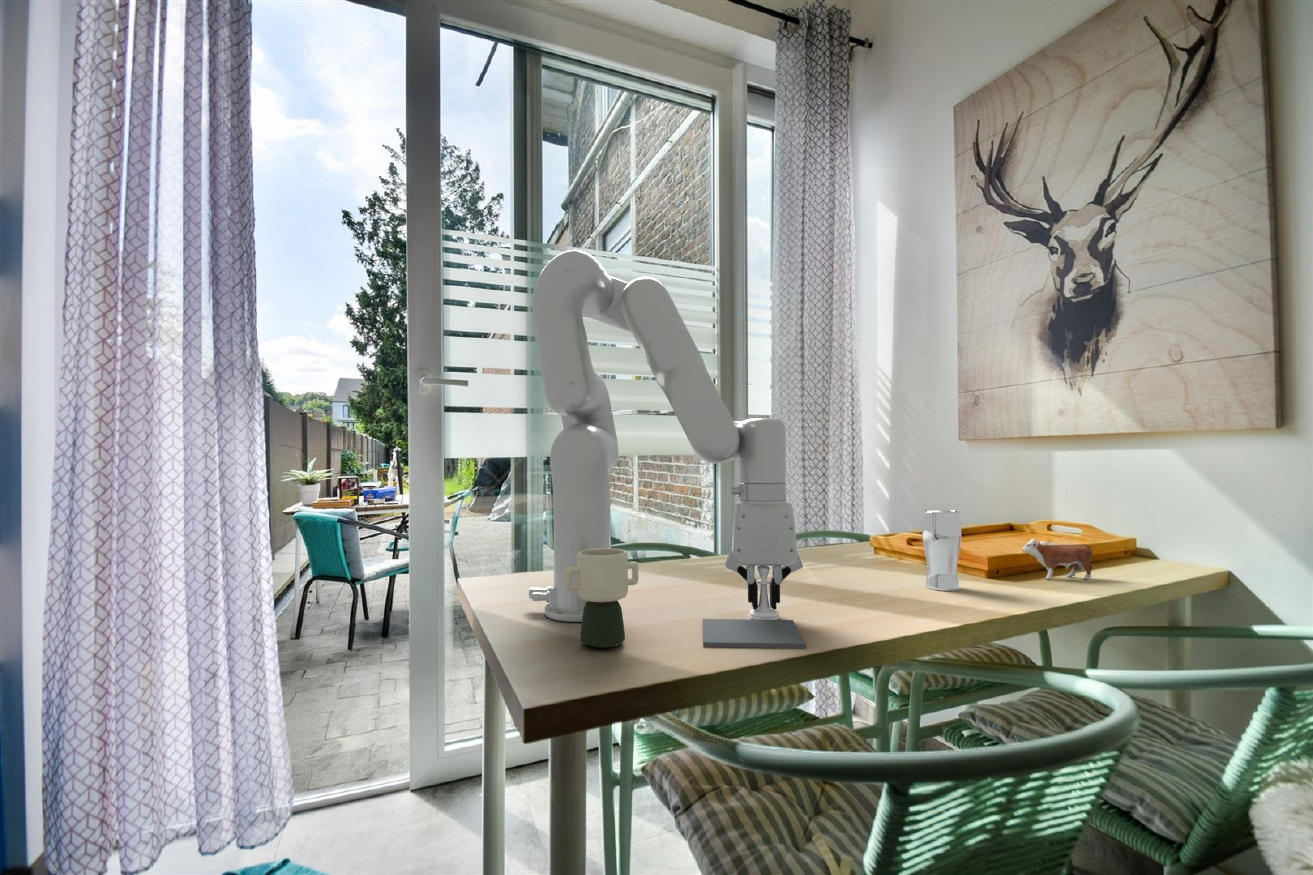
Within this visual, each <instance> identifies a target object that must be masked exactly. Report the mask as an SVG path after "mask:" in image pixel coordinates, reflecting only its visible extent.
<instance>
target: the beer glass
mask: <svg viewBox="0 0 1313 875" xmlns="http://www.w3.org/2000/svg"><path fill="white" fill-rule="evenodd" d="M922 513H923V514H922V528H921V530H922V531H921V532H922V533H921V534H922V542H923V549H924V554H925V555H924V556H925V559H926V564H927V565H926V566H927V571H926V572H927V573H926V578H925V588H927V589H929V590H933V591H939V592H940V591H942V592H957V591H959V590H960V589H961V588H960V583H959V578H958V564H959V556H960V551H961V544H962V522H961V521H962V520H961V515H960V511H959V510H954V509H953V510H952V509H923V511H922Z"/></svg>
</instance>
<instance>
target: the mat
mask: <svg viewBox="0 0 1313 875" xmlns="http://www.w3.org/2000/svg"><path fill="white" fill-rule="evenodd" d="M702 646H703V647H708V648H709V647H710V648H711V647H713V648H714V647H715V648H716V647H717V648H764V647H778V649H779V648H780V649H782V648H783V649H807V643H806V642H805V640H804V638H803V635H802V634H801V633H800V630H799V629H798V627H797V625H796V624H795V622H794V620H793V619H777V620H757V619H752V618H750V619H741V618H740V619H738V618H702ZM781 647H782V648H781Z"/></svg>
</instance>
